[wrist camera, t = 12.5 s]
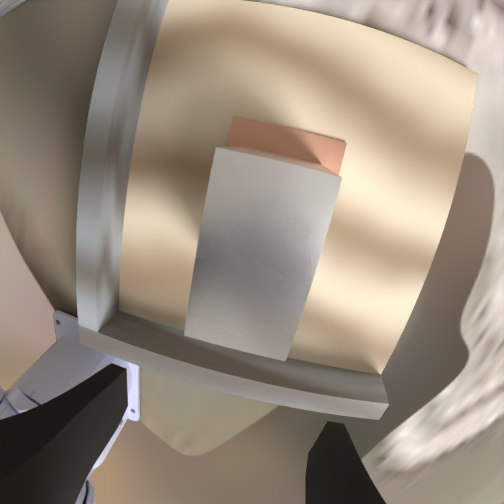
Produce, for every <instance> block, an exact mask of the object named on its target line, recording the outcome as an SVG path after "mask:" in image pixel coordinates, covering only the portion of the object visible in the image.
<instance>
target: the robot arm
mask: <svg viewBox="0 0 504 504" xmlns="http://www.w3.org/2000/svg"><path fill="white" fill-rule="evenodd" d="M53 316H54V325H55V332H56V340H57V341H56V342H55V343H54V344H53V345H52V346H51V347H50V348H49V349H48V350H47V351H46V352H45V353H44V354H43V355H42V356H41V357H40V358H39V359H38V360H37V361H36V362H35V363H34V364H33V365H32V366H31V367H30V368H29V369H28V370H27V371H26V372H25V373H24V374H23V375H22V376H21V377H20V378H19V379H18V380H17V381H16V382H15V383H14V384H13V385H12V386H11V387H10V388H9V389H8V390H6V391H3V389H2V388H1V387H0V504H95V496H96V495H95V487H94V485H93V483H92V482H91V481H90V480H89V477H90V475H91V473H92V472H93V470H94V469H95V468H96V467H98V466H99V465H100V464H101V463H102V462H103V461H104V459H105V457H106V456H107V454H108V452H109V450H110V448H111V446H112V445H113V443H114V441H115V439H116V438H117V436H118V434H119V433H120V431H121V429H122V427H123V425H124V423H125V422H126V420H127V418H128V419H130V420H133V421H138V420H139V417H140V411H139V366H138V365H135V364H132V363H129V362H127V361H124V360H121V359H118V358H116V357H113V356H111V355H108V354H106V353H103V352H101V351H98V350H96V349H93V348H91V347H88V346H86V345H84V344H81V343H80V338H79V326H78V318H76V317H74V316H72V315H69V314H67V313H64V312H62V311H60V310H57V311H55V312H54V315H53ZM59 321H60V322H59ZM306 504H386V503H385V501H384V500H383V498H382V497H381V495H380V493H379V492H378V490H377V488H376V487H375V485H374V483H373V482H372V480H371V478H370V476H369V474H368V473H367V471H366V469H365V467H364V465H363V463H362V461H361V459H360V457H359V455H358V453H357V451H356V449H355V447H354V444H353V442H352V440H351V438H350V435H349V433H348V431H347V429H346V427H345V425H344V424H343V423H335V422H329V421H328V422H327V423H326V425H325V427H324V428H323V430H322V432H321V434H320V435H319V437H318V439H317V440H316V442H315V443H314V445H313V447H312V448H311V450H310V451H309V453H308V461H307V469H306Z"/></svg>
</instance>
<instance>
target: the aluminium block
mask: <svg viewBox="0 0 504 504" xmlns="http://www.w3.org/2000/svg"><path fill="white" fill-rule="evenodd" d="M341 181H342V177H341V176H339V175H338V174H336V173H335V172H333V171H331V170H330V169H328V168H327V167H325V166H323V165H321V164H317V163H314V162H310V161H306V160H302V159H298V158H294V157H290V156H286V155H282V154H277V153H273V152H269V151H264V150H260V149H255V148H251V147H216V149H215V154H214V159H213V164H212V169H211V174H210V179H209V184H208V189H207V195H206V200H205V205H204V211H203V216H202V222H201V228H200V233H199V239H198V245H197V251H196V257H195V263H194V270H193V276H192V283H191V289H190V296H189V303H188V310H187V317H186V324H185V331H184V336H188V337H191V338H195V339H198V340H202V341H205V342H209V343H213V344H216V345H220V346H224V347H228V348H231V349H235V350H239V351H243V352H247V353H251V354H256V355H260V356H264V357H268V358H273V359H277V360H281V361H286V359H287V356H288V353H289V350H290V348H291V345H292V342H293V339H294V336H295V333H296V330H297V327H298V324H299V321H300V318H301V315H302V312H303V309H304V306H305V303H306V300H307V297H308V294H309V291H310V288H311V285H312V281H313V278H314V275H315V272H316V269H317V265H318V262H319V259H320V255H321V252H322V249H323V245H324V242H325V239H326V235H327V232H328V228H329V225H330V221H331V218H332V214H333V210H334V207H335V203H336V200H337V196H338V192H339V188H340V185H341Z"/></svg>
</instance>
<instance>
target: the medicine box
mask: <svg viewBox="0 0 504 504" xmlns="http://www.w3.org/2000/svg"><path fill="white" fill-rule="evenodd" d="M25 1H27V0H0V17H2V16H3V15H5V14H6V13H8V12H9V11H11V10H12V9H14V8H16V7H17V6H19V5H20V4H22V3H24V2H25Z"/></svg>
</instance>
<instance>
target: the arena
mask: <svg viewBox="0 0 504 504" xmlns="http://www.w3.org/2000/svg"><path fill="white" fill-rule="evenodd" d="M477 76H478V74H477V73H476V72H474V71H472V70H470V69H468V68H466V67H464V66H462V65H460V64H458V63H456V62H454V61H452V60H450V59H448V58H446V57H444V56H442V55H440V54H438V53H435V52H433V51H431V50H429V49H426V48H424V47H422V46H419V45H417V44H414V43H412V42H409V41H407V40H404V39H402V38H399V37H396V36H394V35H391V34H388V33H385V32H382V31H379V30H376V29H373V28H370V27H367V26H364V25H361V24H357V23H354V22H351V21H347V20H343V19H340V18H336V17H332V16H328V15H324V14H320V13H315V12H311V11H306V10H301V9H296V8H291V7H286V6H280V5H274V4H267V3H260V2H252V1H243V0H118V1H117V4H116V7H115V10H114V13H113V16H112V19H111V22H110V26H109V29H108V32H107V36H106V39H105V43H104V46H103V50H102V54H101V58H100V62H99V66H98V70H97V74H96V79H95V83H94V88H93V93H92V98H91V103H90V108H89V114H88V119H87V125H86V132H85V139H84V146H83V153H82V162H81V171H80V181H79V193H78V207H77V227H76V292H77V312H78V326H79V338H80V343H81V344H84V345H86V346H88V347H91V348H93V349H96V350H98V351H101V352H103V353H106V354H108V355H111V356H113V357H116V358H118V359H121V360H124V361H127V362H129V363H132V364H135V365H138V366H140V367H143V368H146V369H149V370H152V371H155V372H158V373H161V374H164V375H167V376H170V377H173V378H177V379H180V380H183V381H186V382H190V383H193V384H197V385H200V386H204V387H207V388H211V389H215V390H218V391H222V392H226V393H230V394H234V395H238V396H242V397H246V398H251V399H255V400H259V401H264V402H269V403H273V404H278V405H283V406H289V407H294V408H299V409H305V410H310V411H316V412H324V413H329V414H336V415H344V416H351V417H359V418H368V419H378V420H379V419H380V417H381V416H382V414H383V413H384V411H385V410H386V408H387V407H388V405H389V401H388V398H387V395H386V391H385V388H384V385H383V381H382V378H381V373H382V371H383V369H384V367H385V365H386V364H387V362H388V360H389V357H390V356H391V354H392V352H393V350H394V348H395V346H396V344H397V342H398V340H399V338H400V336H401V334H402V332H403V329H404V327H405V325H406V323H407V321H408V318H409V316H410V314H411V312H412V309H413V307H414V305H415V303H416V300H417V298H418V296H419V293H420V291H421V288H422V286H423V284H424V281H425V278H426V276H427V274H428V271H429V268H430V266H431V263H432V260H433V258H434V255H435V252H436V249H437V247H438V244H439V241H440V238H441V235H442V232H443V229H444V226H445V223H446V220H447V216H448V213H449V210H450V207H451V203H452V200H453V196H454V192H455V189H456V185H457V181H458V178H459V173H460V170H461V166H462V161H463V157H464V153H465V148H466V144H467V139H468V134H469V129H470V123H471V118H472V112H473V105H474V99H475V92H476V84H477ZM216 147H251V148H255V149H260V150H264V151H269V152H273V153H277V154H282V155H286V156H290V157H294V158H298V159H302V160H306V161H310V162H314V163H317V164H321V165H323V166H325V167H327V168H328V169H330V170H331V171H333V172H335V173H336V174H338V175H339V176H341V177H342V181H341V185H340V188H339V192H338V196H337V200H336V203H335V207H334V210H333V214H332V218H331V221H330V225H329V228H328V232H327V235H326V239H325V242H324V245H323V249H322V252H321V255H320V259H319V262H318V265H317V269H316V272H315V275H314V278H313V281H312V285H311V288H310V291H309V294H308V297H307V300H306V303H305V306H304V309H303V312H302V315H301V318H300V321H299V324H298V327H297V330H296V333H295V336H294V339H293V342H292V345H291V348H290V350H289V353H288V356H287V359H286V361H281V360H277V359H273V358H268V357H264V356H260V355H256V354H251V353H247V352H243V351H239V350H235V349H231V348H228V347H224V346H220V345H216V344H213V343H209V342H205V341H202V340H198V339H195V338H191V337H188V336H184V331H185V324H186V317H187V310H188V303H189V296H190V289H191V283H192V276H193V270H194V263H195V257H196V251H197V245H198V239H199V233H200V228H201V222H202V216H203V211H204V205H205V200H206V195H207V189H208V184H209V179H210V174H211V169H212V164H213V159H214V154H215V149H216Z"/></svg>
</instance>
